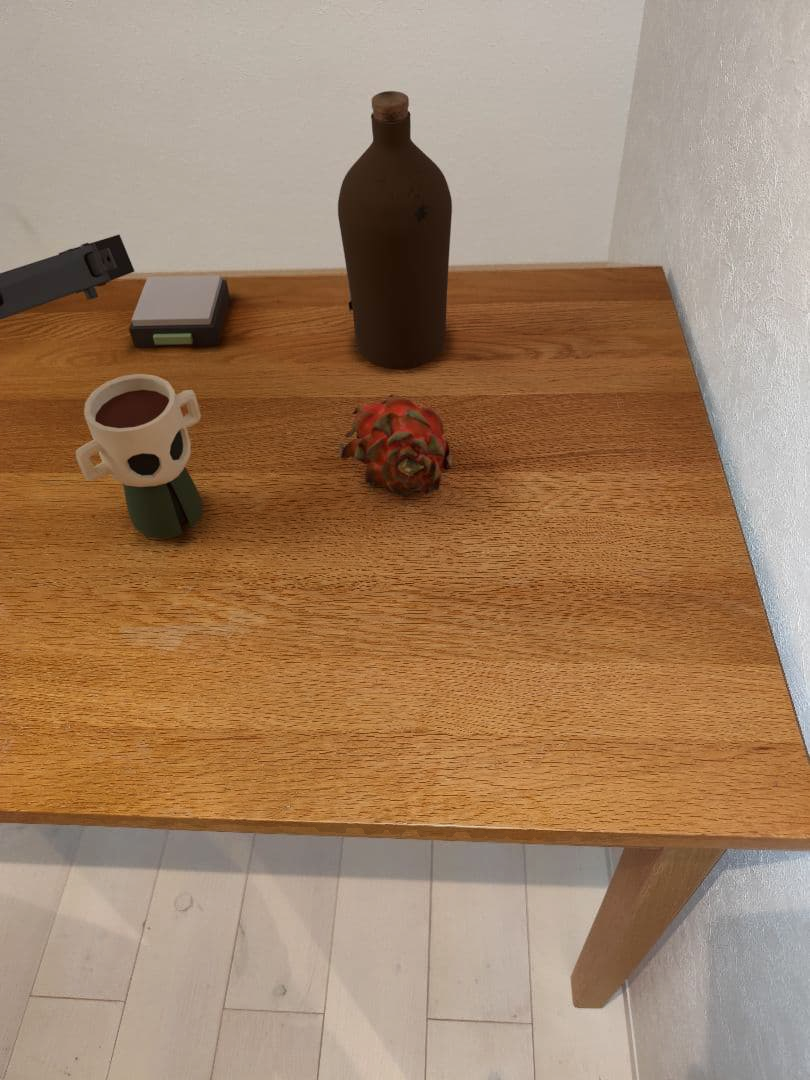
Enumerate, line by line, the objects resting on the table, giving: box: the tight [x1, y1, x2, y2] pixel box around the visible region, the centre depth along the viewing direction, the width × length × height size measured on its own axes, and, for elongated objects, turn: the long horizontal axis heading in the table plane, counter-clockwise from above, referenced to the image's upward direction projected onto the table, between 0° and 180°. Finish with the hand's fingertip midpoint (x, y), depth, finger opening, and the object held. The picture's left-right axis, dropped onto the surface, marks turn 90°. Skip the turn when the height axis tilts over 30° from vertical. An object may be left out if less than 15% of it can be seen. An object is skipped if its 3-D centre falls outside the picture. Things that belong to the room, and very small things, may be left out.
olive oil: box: [337, 90, 453, 370], centre depth 85 cm, size 11×11×25 cm
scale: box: [128, 274, 231, 348], centre depth 97 cm, size 9×10×3 cm
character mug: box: [75, 373, 204, 540], centre depth 74 cm, size 11×7×13 cm, turn 133°
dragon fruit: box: [338, 393, 455, 498], centre depth 79 cm, size 8×8×12 cm
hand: (50, 278), depth 67 cm, fingers open, 13 cm apart
